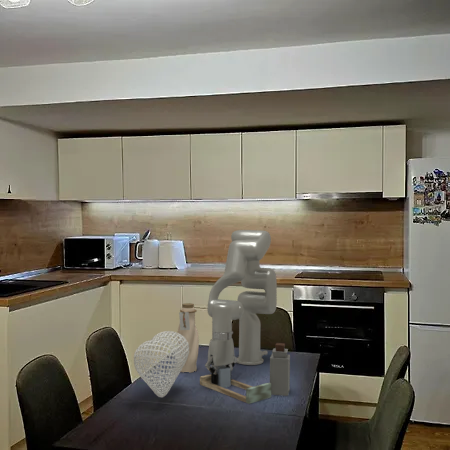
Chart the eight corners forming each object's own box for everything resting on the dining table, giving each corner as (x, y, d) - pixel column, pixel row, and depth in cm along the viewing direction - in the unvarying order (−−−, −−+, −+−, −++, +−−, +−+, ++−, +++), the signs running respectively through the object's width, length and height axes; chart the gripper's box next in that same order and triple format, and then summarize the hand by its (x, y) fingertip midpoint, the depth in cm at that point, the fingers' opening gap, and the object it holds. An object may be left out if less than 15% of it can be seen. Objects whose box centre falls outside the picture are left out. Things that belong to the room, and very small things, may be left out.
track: (221, 379, 221) (221, 366, 220) (271, 397, 199) (271, 383, 199) (199, 384, 213) (199, 371, 213) (248, 403, 192) (249, 389, 192)
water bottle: (197, 374, 227) (198, 306, 226) (175, 374, 227) (176, 306, 226) (199, 367, 237) (199, 302, 236) (178, 367, 237) (178, 302, 237)
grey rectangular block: (222, 383, 216) (222, 365, 215) (230, 386, 212) (230, 368, 212) (212, 385, 212) (212, 367, 212) (220, 388, 209) (220, 370, 208)
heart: (170, 412, 183) (170, 346, 183) (126, 408, 187) (127, 343, 186) (193, 386, 211) (193, 328, 210) (154, 383, 214) (155, 326, 213)
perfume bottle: (287, 395, 201) (288, 346, 201) (269, 394, 202) (270, 345, 202) (289, 390, 208) (290, 342, 207) (271, 388, 209) (272, 341, 209)
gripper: (232, 331, 220) (231, 375, 220) (198, 336, 209) (197, 384, 209) (245, 334, 214) (244, 380, 215) (210, 340, 203) (210, 388, 204)
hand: (221, 381), depth 212 cm, fingers open, 6 cm apart
